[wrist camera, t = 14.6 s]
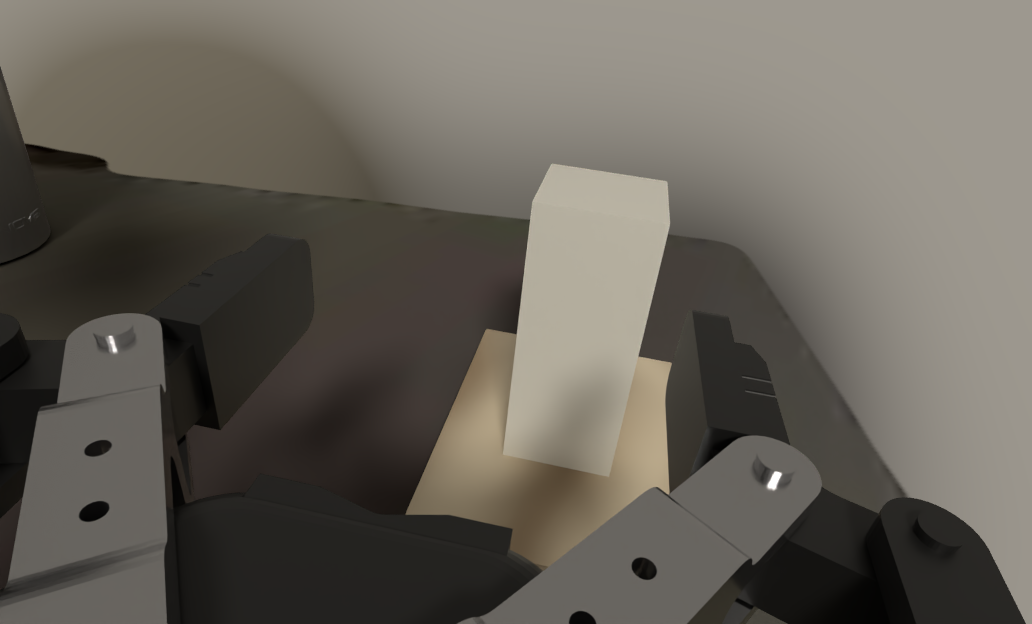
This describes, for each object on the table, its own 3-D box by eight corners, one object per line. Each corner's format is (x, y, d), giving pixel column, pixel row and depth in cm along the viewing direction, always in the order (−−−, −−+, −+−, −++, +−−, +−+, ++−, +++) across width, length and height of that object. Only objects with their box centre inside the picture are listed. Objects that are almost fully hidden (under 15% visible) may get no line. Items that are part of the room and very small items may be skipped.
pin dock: (397, 560, 22) (397, 481, 20) (484, 351, 34) (489, 288, 32) (674, 624, 21) (704, 547, 19) (665, 385, 33) (682, 322, 31)
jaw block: (502, 454, 25) (532, 201, 20) (522, 391, 29) (551, 163, 24) (608, 476, 25) (670, 224, 19) (614, 409, 29) (667, 181, 23)
